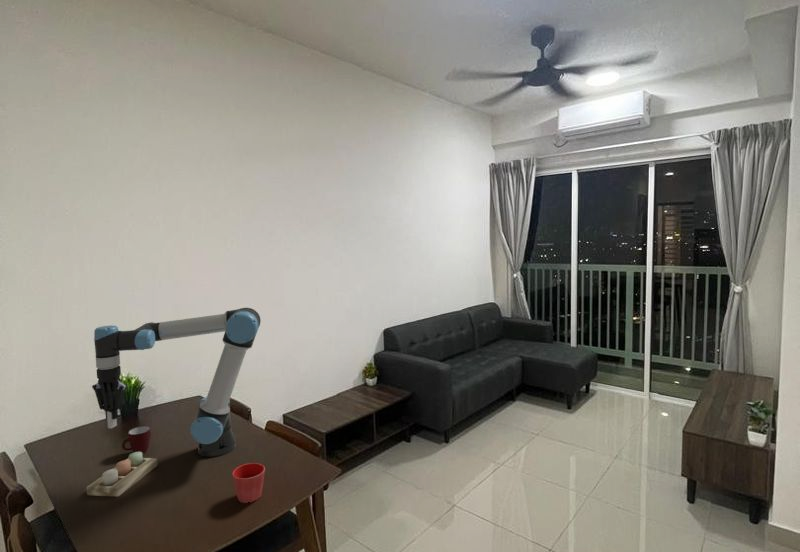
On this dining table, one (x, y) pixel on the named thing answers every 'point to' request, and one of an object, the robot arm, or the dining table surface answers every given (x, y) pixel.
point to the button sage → (136, 458)
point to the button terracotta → (123, 467)
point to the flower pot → (249, 481)
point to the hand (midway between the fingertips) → (112, 426)
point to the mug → (138, 439)
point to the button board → (122, 480)
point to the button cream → (110, 476)
